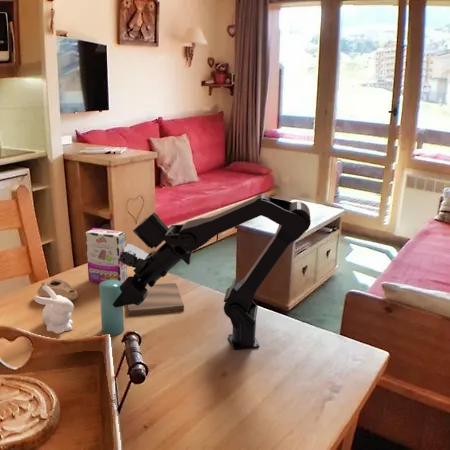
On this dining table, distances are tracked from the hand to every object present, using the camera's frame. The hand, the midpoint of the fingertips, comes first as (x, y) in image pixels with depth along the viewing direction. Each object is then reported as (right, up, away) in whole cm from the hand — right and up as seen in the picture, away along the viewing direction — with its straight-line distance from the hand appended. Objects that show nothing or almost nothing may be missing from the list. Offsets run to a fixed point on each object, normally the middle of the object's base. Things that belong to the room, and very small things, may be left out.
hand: (120, 297), depth 129 cm
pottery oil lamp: (-21, -4, +19) cm, 28 cm away
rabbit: (-17, -9, +4) cm, 19 cm away
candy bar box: (-10, 0, +31) cm, 32 cm away
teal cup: (-3, -9, +3) cm, 10 cm away
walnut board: (+6, -4, +19) cm, 21 cm away
